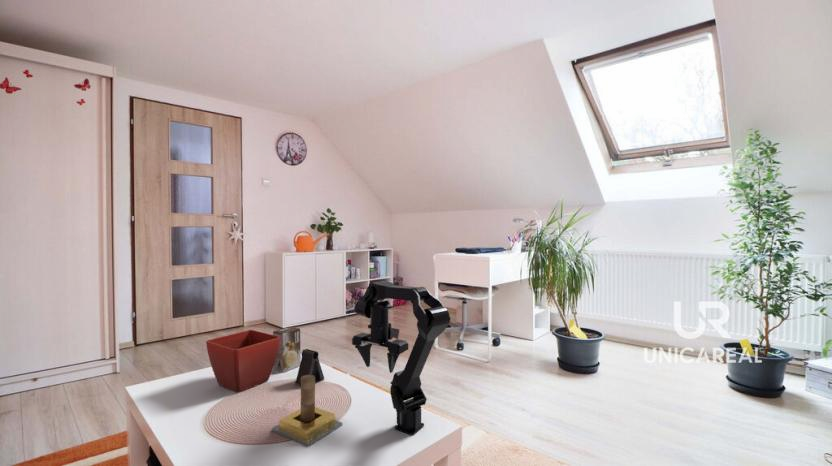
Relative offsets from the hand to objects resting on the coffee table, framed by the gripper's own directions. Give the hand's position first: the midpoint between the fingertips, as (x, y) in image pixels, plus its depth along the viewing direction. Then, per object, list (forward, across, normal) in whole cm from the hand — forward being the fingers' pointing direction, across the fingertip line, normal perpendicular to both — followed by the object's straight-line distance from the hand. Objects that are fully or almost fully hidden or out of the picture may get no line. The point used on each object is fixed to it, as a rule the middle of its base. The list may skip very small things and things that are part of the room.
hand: (379, 369), depth 123 cm
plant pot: (+13, +56, +10) cm, 58 cm away
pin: (+12, +11, +20) cm, 26 cm away
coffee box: (+13, +55, -9) cm, 57 cm away
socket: (+13, +11, +20) cm, 26 cm away
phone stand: (+13, +36, -4) cm, 39 cm away
